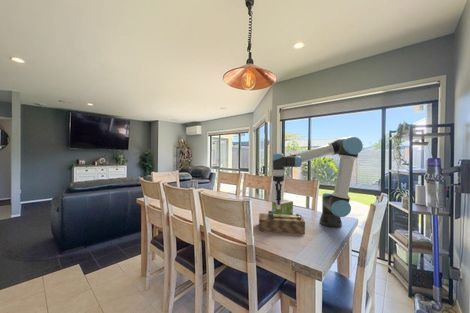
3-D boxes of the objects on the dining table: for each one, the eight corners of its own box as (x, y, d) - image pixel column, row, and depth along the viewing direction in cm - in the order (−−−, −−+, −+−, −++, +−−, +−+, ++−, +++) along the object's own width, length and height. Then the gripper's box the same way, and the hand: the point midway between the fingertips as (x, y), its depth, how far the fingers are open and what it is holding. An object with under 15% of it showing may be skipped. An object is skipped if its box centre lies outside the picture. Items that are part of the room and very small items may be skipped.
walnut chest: (301, 225, 151) (301, 210, 151) (305, 233, 137) (305, 217, 137) (259, 223, 155) (259, 209, 154) (259, 231, 141) (259, 215, 140)
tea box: (281, 223, 156) (282, 203, 156) (271, 220, 164) (271, 201, 164) (293, 219, 166) (293, 200, 166) (282, 216, 174) (282, 198, 174)
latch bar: (298, 216, 146) (298, 214, 146) (299, 218, 142) (300, 216, 142) (269, 214, 149) (269, 212, 149) (269, 216, 145) (269, 214, 145)
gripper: (272, 174, 152) (272, 206, 153) (273, 176, 139) (273, 211, 140) (282, 174, 151) (283, 206, 152) (284, 176, 138) (285, 211, 139)
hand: (278, 209), depth 146 cm, fingers closed
